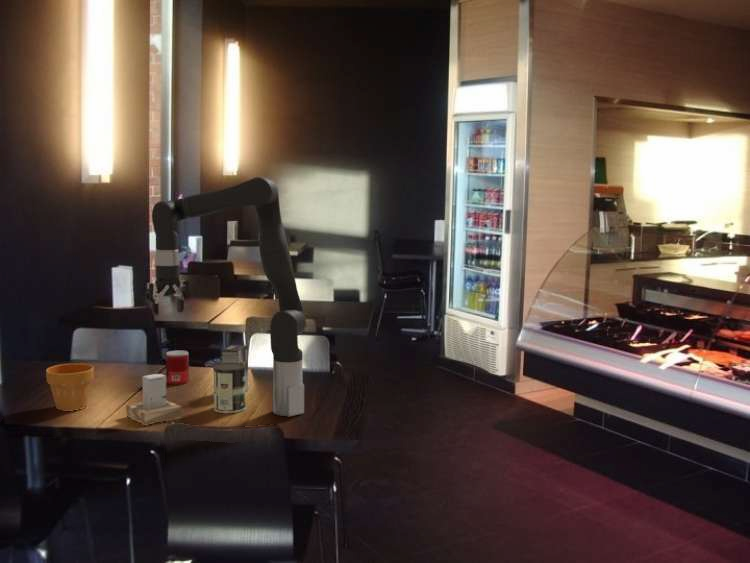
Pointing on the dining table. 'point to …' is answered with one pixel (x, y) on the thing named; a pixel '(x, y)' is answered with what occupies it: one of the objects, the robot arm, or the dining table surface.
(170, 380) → the canned food
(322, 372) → the dining table surface
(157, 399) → the skincare box
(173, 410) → the frame
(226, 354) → the coffee box
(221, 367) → the coffee can
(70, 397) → the flower pot
